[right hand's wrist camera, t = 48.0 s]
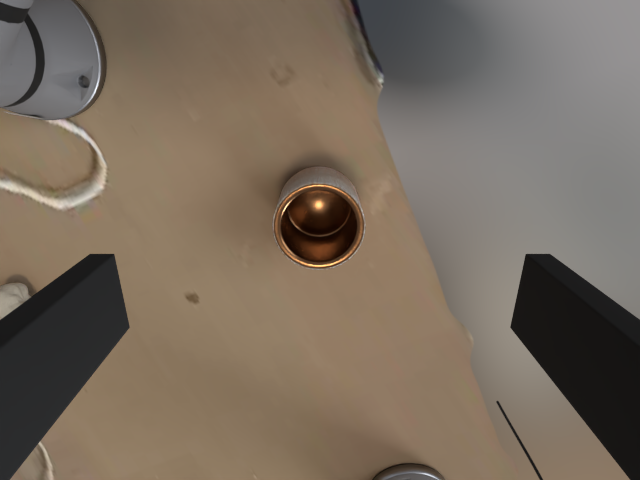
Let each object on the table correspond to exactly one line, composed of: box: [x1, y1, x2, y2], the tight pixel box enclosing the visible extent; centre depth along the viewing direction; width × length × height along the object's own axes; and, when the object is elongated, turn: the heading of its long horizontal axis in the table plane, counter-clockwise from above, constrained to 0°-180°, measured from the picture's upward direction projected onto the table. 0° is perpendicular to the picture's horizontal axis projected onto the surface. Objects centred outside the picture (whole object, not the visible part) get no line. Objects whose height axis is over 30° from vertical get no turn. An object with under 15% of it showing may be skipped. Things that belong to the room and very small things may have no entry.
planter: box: [273, 166, 365, 270], centre depth 49 cm, size 11×11×10 cm
